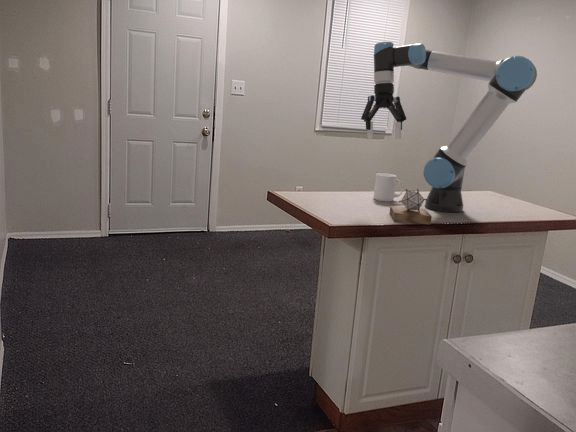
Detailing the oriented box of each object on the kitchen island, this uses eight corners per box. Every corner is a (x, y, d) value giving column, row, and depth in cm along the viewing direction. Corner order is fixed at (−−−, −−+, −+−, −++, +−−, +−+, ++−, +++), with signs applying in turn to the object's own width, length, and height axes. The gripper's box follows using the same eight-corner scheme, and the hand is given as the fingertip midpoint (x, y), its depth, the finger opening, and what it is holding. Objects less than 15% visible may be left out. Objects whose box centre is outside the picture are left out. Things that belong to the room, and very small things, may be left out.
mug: (402, 203, 221) (405, 178, 218) (373, 200, 222) (376, 175, 220) (401, 199, 229) (404, 175, 226) (373, 196, 230) (376, 172, 228)
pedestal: (424, 216, 198) (425, 209, 197) (430, 224, 186) (431, 216, 185) (389, 213, 198) (390, 206, 198) (393, 221, 187) (394, 212, 186)
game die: (414, 222, 191) (427, 204, 183) (393, 211, 192) (404, 193, 184) (420, 206, 197) (432, 189, 189) (399, 196, 198) (410, 178, 190)
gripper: (402, 86, 215) (403, 139, 217) (351, 83, 203) (352, 139, 205) (415, 83, 208) (415, 138, 210) (363, 80, 197) (363, 137, 199)
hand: (384, 138), depth 208 cm, fingers open, 13 cm apart
